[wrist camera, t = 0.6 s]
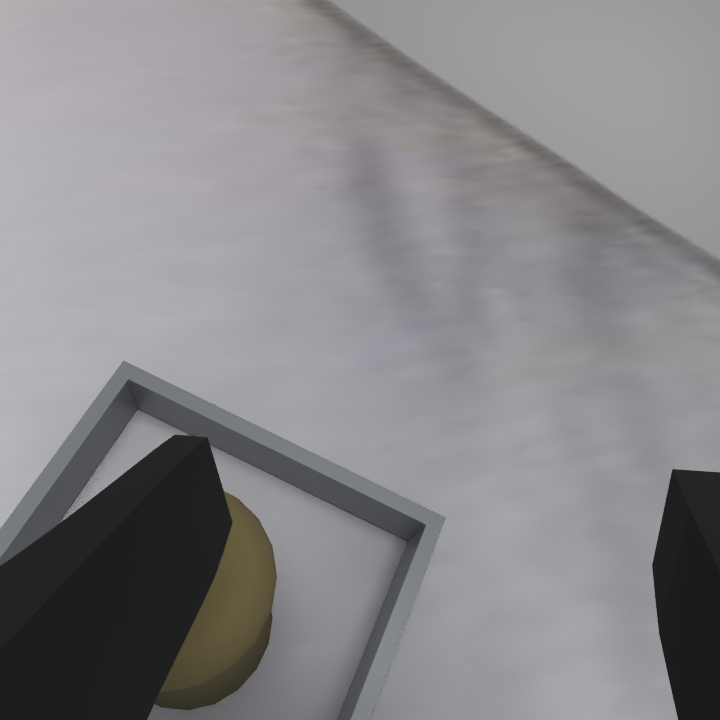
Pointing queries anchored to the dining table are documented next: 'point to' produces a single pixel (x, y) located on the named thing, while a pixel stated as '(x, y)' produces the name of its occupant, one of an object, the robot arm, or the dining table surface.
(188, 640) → the cork
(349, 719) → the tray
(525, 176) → the dining table surface
